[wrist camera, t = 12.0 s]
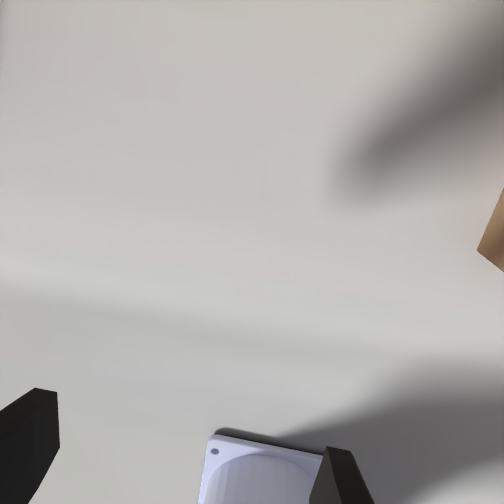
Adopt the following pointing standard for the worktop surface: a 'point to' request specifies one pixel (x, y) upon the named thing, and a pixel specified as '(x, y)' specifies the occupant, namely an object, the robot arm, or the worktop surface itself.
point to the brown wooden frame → (494, 237)
